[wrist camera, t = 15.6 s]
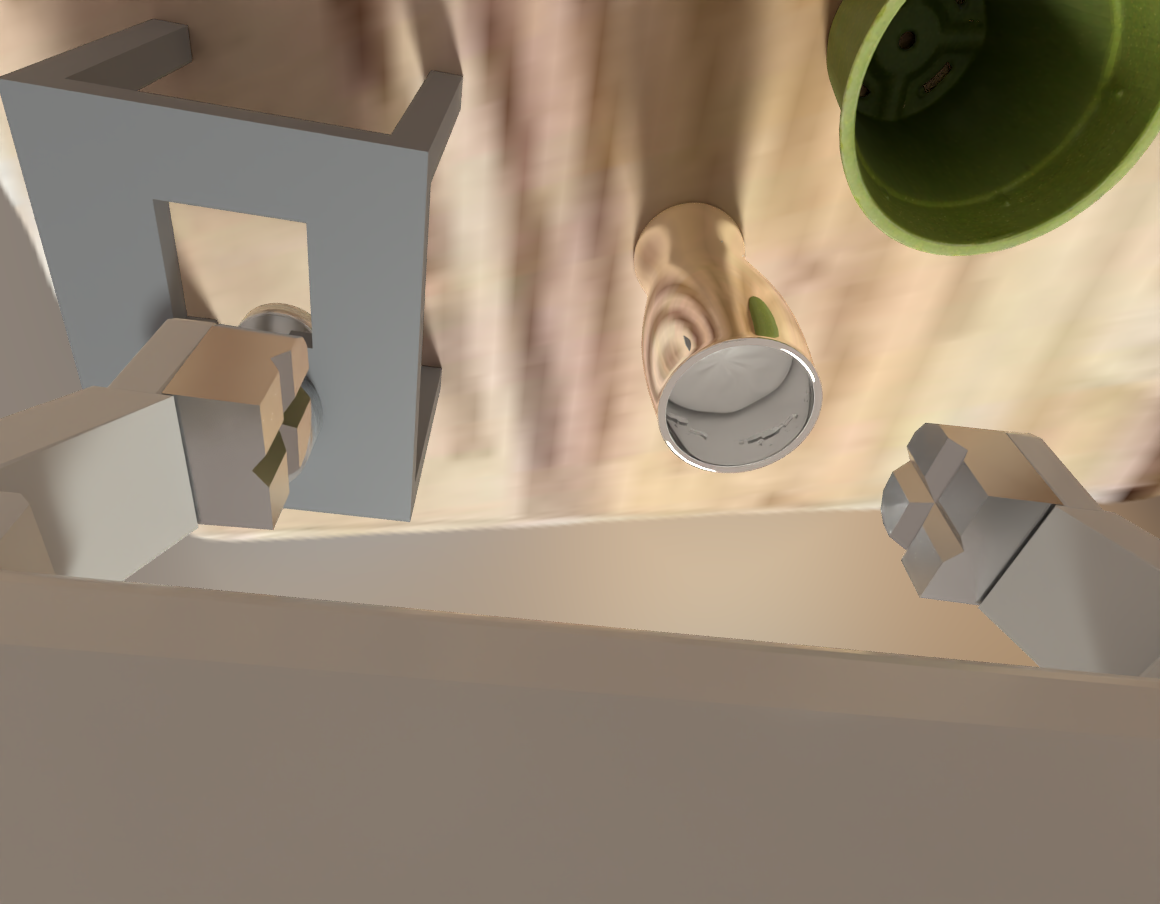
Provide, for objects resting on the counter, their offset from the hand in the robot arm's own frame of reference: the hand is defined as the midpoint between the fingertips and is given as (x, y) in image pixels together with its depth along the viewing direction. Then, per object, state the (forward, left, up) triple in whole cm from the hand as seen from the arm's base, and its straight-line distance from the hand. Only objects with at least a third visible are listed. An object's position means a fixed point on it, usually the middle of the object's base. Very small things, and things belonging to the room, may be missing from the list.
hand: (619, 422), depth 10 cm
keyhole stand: (+12, -12, -31) cm, 35 cm away
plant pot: (-2, +15, -31) cm, 35 cm away
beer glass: (+10, +8, -31) cm, 34 cm away
